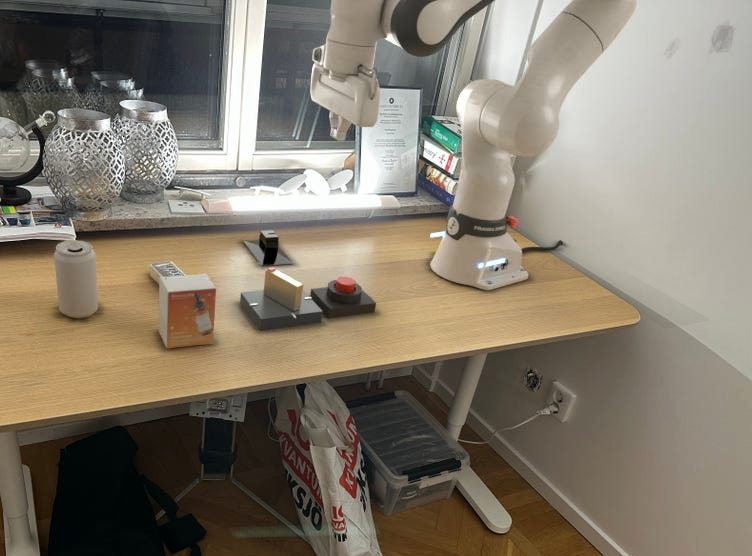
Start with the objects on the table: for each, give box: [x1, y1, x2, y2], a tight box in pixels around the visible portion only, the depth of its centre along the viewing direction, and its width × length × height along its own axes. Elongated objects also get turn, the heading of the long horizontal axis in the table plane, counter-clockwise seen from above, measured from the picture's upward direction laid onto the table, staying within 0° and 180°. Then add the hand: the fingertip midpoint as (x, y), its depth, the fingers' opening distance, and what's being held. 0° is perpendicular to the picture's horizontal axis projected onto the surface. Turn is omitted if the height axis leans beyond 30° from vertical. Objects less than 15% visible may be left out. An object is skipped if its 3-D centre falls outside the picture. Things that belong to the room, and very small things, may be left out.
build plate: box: [243, 229, 294, 267], centre depth 141 cm, size 12×7×5 cm, turn 23°
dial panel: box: [239, 289, 324, 332], centre depth 120 cm, size 12×12×3 cm
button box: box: [309, 279, 377, 320], centre depth 125 cm, size 10×8×4 cm
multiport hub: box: [149, 260, 187, 285], centre depth 124 cm, size 4×11×2 cm, turn 35°
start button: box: [335, 276, 356, 293], centre depth 124 cm, size 4×4×2 cm
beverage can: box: [53, 239, 99, 319], centre depth 110 cm, size 6×6×12 cm
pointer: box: [263, 266, 304, 311], centre depth 118 cm, size 8×2×5 cm, turn 47°
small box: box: [158, 273, 217, 349], centre depth 107 cm, size 8×6×10 cm
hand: (337, 138), depth 124 cm, fingers closed
